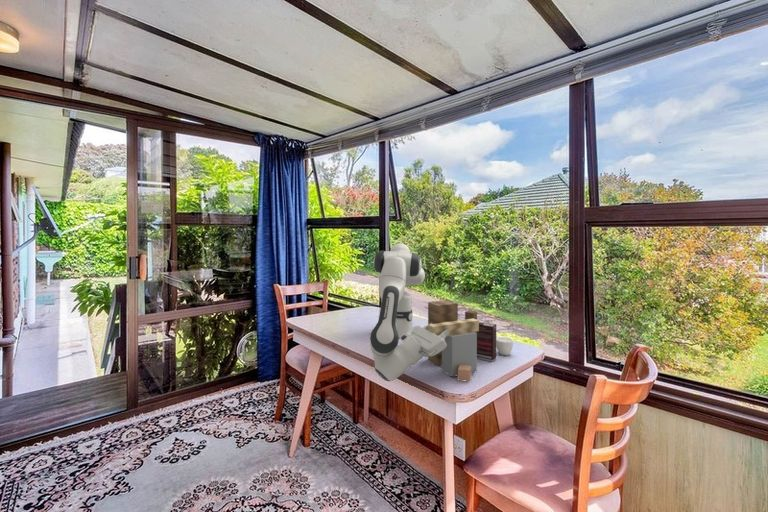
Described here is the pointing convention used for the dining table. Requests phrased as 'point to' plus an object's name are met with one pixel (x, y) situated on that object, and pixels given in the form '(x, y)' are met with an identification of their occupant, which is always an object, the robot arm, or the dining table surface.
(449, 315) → the walnut stand
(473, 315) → the wooden block
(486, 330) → the supplement box
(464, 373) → the clay cube
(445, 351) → the grey step block
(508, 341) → the cup
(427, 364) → the dining table surface
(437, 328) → the oak bar
